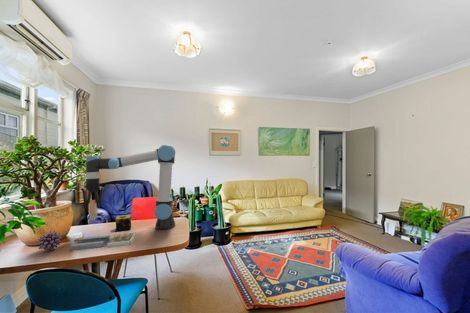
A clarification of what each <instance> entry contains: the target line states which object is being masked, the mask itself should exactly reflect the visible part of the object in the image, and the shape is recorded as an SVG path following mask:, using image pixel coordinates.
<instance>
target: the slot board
mask: <svg viewBox="0 0 470 313" xmlns="http://www.w3.org/2000/svg"><path fill="white" fill-rule="evenodd" d="M113 242H114V237H113V238H110V235H108V234H107V235H99V236H91V237H90V236H89V237H80V238H78V239H77V243H73V244H71V245H70V246H69V251H70V252H73V251H81V250H87V249H88V250H90V249H98V248H106V247H107V244H108V243H113ZM107 248H108V247H107Z"/></svg>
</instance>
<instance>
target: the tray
mask: <svg viewBox="0 0 470 313" xmlns="http://www.w3.org/2000/svg"><path fill="white" fill-rule="evenodd" d="M121 234H122V233H118V234H117V233H116V234H115V233H114V237H115V236H116V235H121ZM124 234H130V239H129V241H122V242H114V241H112V242H111V243H108V244H107V248H112V247H113V248H114V247H119V246H120V247H121V246H122V247H123V246H128V245H132V244H133V241H134V240H135V239H136V238H135V237H136V236H137V235H136V234H137V233H136V232H125V233H124Z"/></svg>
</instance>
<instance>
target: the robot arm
mask: <svg viewBox="0 0 470 313" xmlns="http://www.w3.org/2000/svg"><path fill="white" fill-rule="evenodd" d="M175 157H176V150H175V148H174V146H172V145H171V144H166V143H165V144H162V145H160V146H159V148H156V149H155V150H152V151H147V152H141V153H136V154H131V155H130V154H129V155H125V156H120V157H115V158H114V157H113V158H111V157H109V158H100V156H99V155H87V156H86V159H85V177H86V179H85V180H86V182H85V185H86V186H84V187H82V188H81V192H82V200H83V203H84V204H86V208H87V209H88V214H90V201H91V200H92V193H93V194H94V200H96V203H95V213H97V214H98V212H99V209H98V208H100V202H103V197H104V196H103V195H104V190H105V187H104V186H102V185H100V170H116V169H117V170H118V169H119V168H124V167H128V166H133V165H139V164H143V163H148V162H153V161H157V163H158V164H159V176H158V193H157V195H158V196H157V198H156V199H155V205H154V206H155V208H154V211H153V213H154V217H155V218H156V222H155V226H154V227H155V229H156V230H160V231H164V230H165V231H166V230H170V229H174V228H175V227H176V221H175V218H174V207H173V206H174V204H173V202H174V199H173V197H171V194H172V193H171V192H172V191H171V190H172V177H173V176H172V173H173V172H172V171H173V166H174V164H175Z"/></svg>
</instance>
